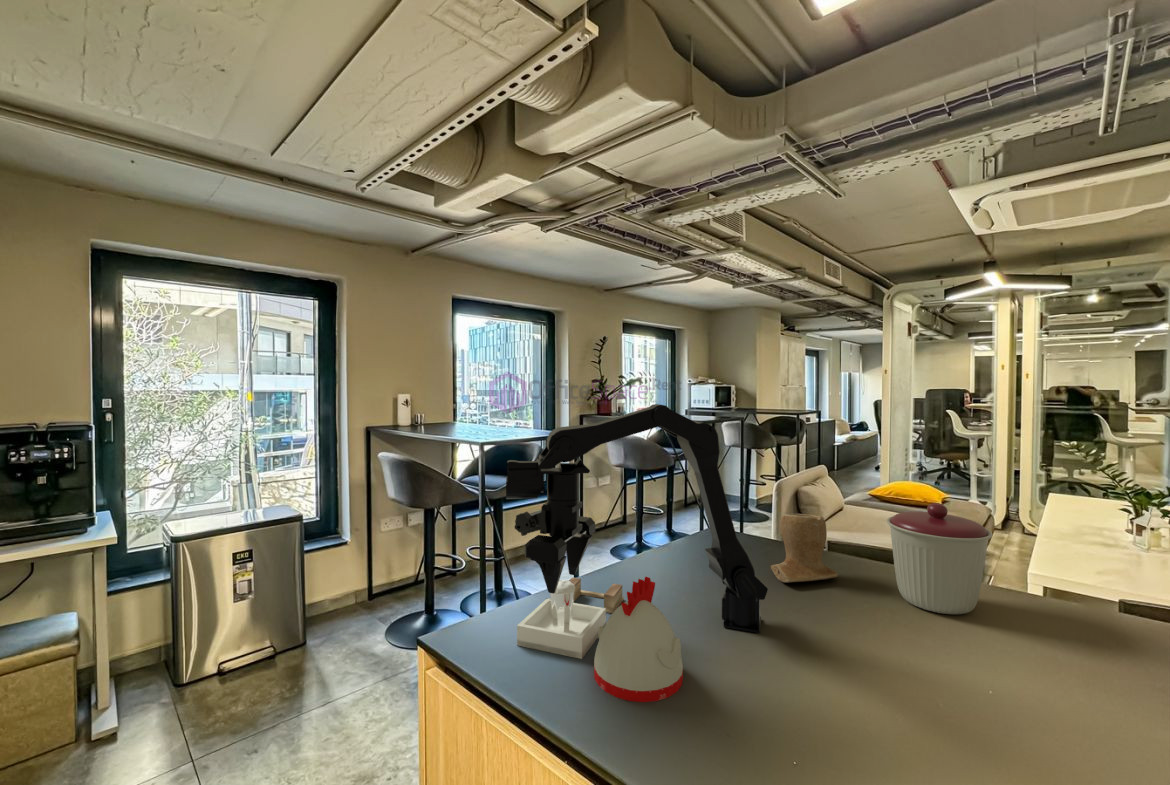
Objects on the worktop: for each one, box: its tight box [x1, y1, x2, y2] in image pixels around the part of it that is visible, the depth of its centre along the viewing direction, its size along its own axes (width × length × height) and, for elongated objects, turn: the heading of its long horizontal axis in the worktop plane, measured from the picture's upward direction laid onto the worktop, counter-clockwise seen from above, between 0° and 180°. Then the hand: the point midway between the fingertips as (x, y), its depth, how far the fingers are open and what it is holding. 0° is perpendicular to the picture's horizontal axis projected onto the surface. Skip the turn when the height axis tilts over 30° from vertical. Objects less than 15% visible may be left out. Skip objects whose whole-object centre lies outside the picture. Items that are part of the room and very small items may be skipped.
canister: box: [886, 502, 993, 615], centre depth 107 cm, size 18×18×21 cm
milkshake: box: [549, 579, 575, 633], centre depth 92 cm, size 5×5×10 cm
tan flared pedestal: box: [770, 513, 839, 583], centre depth 122 cm, size 15×12×15 cm
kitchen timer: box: [593, 576, 684, 703], centre depth 81 cm, size 14×14×15 cm
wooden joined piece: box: [568, 577, 625, 614], centre depth 107 cm, size 11×7×4 cm, turn 69°
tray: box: [516, 598, 607, 660], centre depth 93 cm, size 12×12×4 cm
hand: (562, 583), depth 93 cm, fingers open, 9 cm apart
